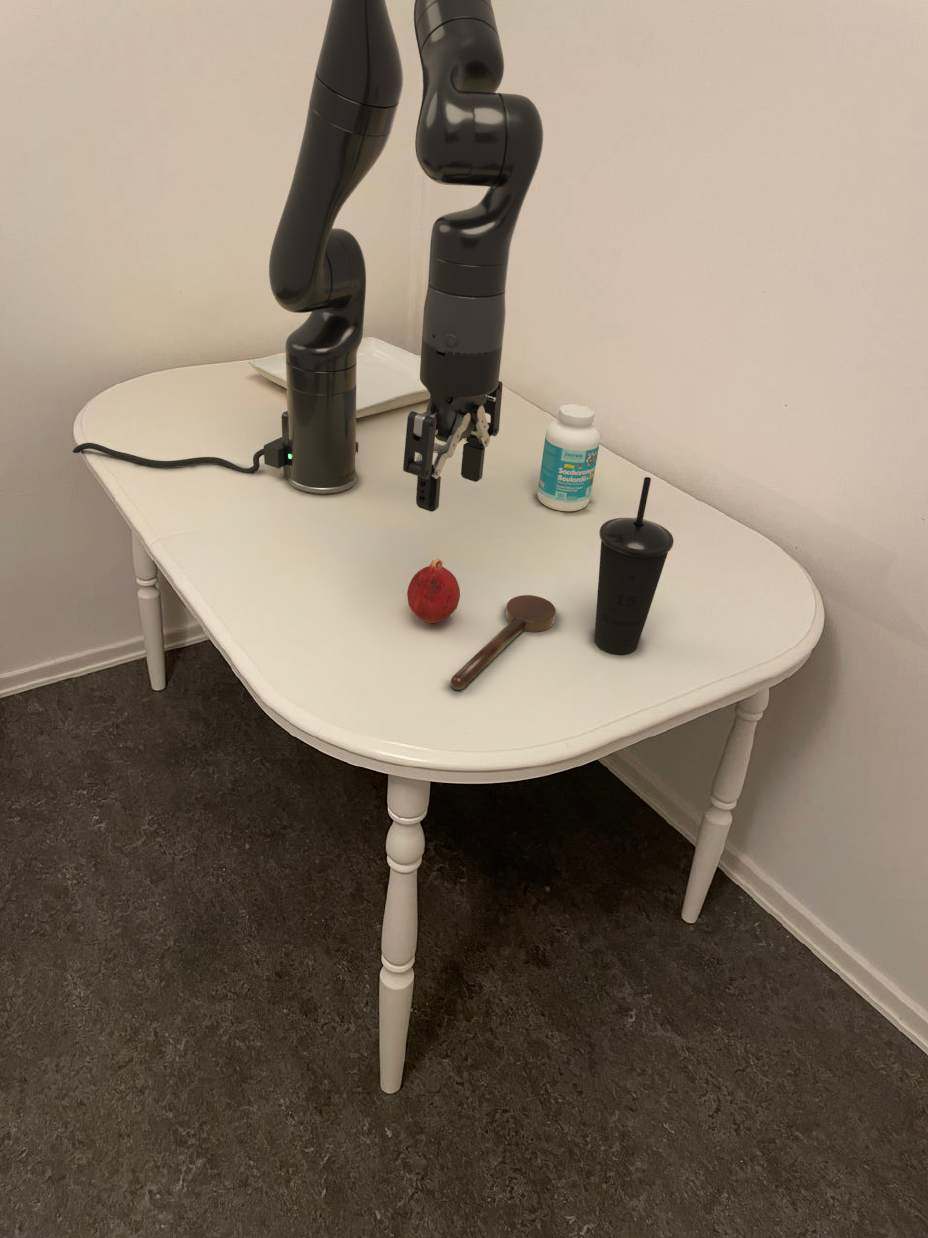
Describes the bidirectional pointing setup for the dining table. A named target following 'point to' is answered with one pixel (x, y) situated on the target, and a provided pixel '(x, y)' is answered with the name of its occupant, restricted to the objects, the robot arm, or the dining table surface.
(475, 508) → the dining table surface
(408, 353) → the square plate
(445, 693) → the dining table surface
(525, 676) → the dining table surface
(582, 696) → the dining table surface
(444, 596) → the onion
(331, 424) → the robot arm
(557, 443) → the pill bottle
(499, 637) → the spoon
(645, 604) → the drinking cup
